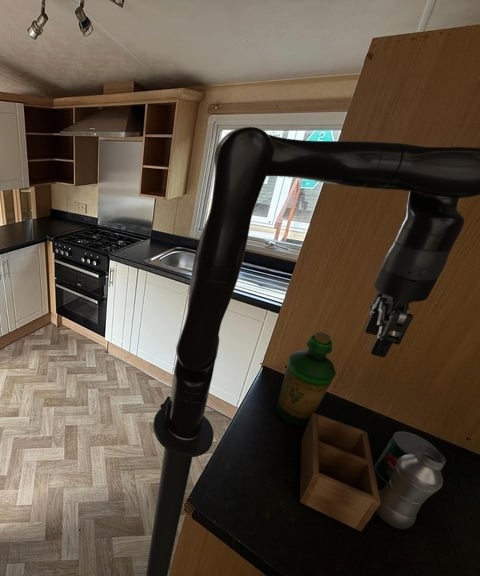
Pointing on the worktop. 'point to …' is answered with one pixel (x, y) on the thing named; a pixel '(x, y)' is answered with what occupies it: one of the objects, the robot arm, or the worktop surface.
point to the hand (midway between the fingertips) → (373, 343)
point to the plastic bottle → (410, 486)
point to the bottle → (306, 380)
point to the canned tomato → (398, 452)
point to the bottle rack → (338, 472)
